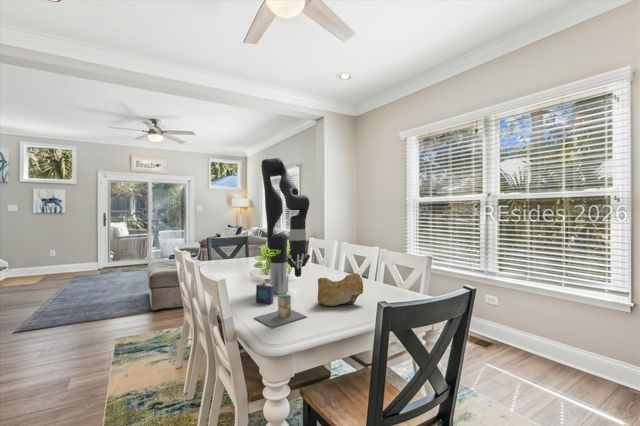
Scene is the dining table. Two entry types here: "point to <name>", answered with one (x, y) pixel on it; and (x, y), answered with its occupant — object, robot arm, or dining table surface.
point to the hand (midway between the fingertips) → (297, 276)
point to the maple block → (284, 305)
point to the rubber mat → (279, 319)
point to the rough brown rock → (339, 290)
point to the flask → (264, 293)
